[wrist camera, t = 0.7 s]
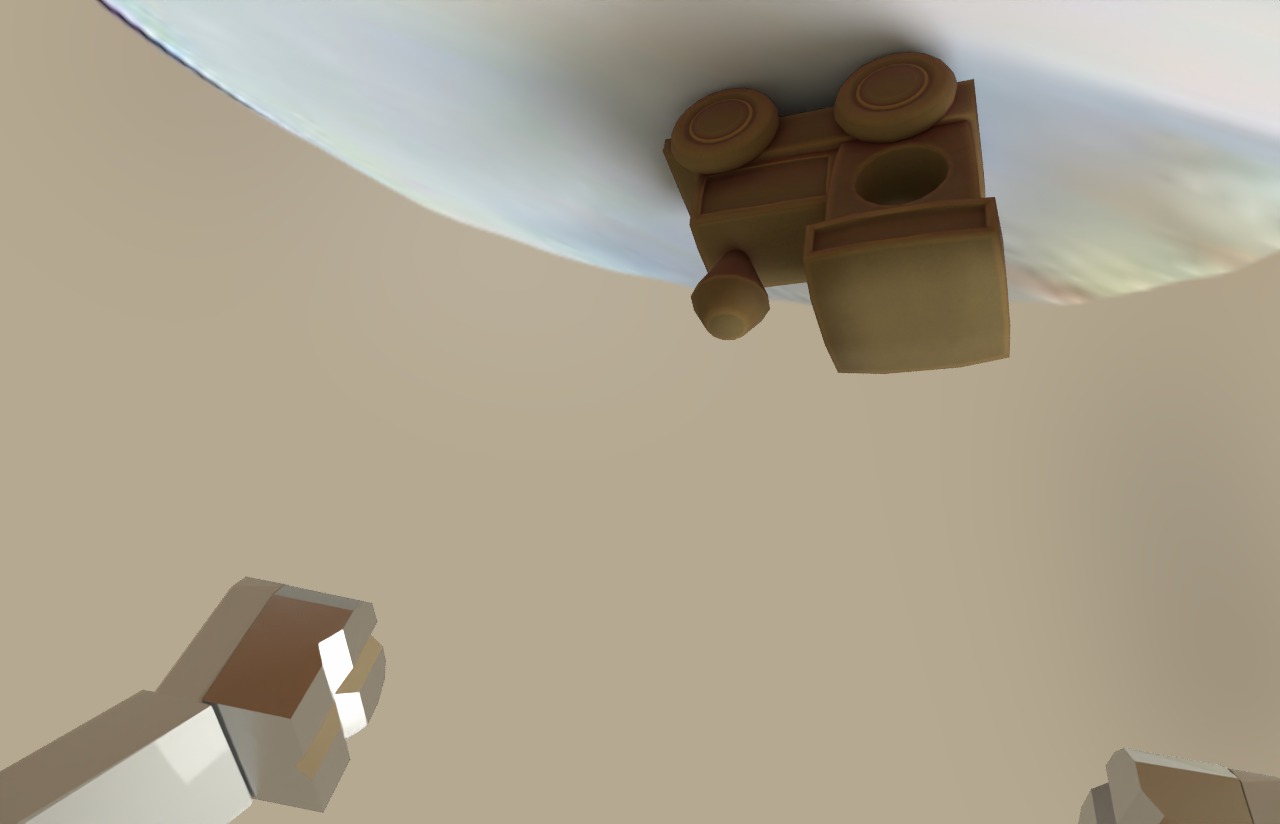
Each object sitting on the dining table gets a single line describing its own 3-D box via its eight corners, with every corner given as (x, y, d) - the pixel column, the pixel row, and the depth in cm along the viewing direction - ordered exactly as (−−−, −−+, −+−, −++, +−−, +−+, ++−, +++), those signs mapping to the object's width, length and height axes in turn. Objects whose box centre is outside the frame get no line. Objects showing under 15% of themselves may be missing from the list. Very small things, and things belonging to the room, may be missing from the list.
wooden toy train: (986, 21, 54) (1000, 223, 45) (1000, 175, 62) (1014, 372, 53) (661, 92, 62) (614, 277, 52) (712, 221, 70) (679, 400, 61)
